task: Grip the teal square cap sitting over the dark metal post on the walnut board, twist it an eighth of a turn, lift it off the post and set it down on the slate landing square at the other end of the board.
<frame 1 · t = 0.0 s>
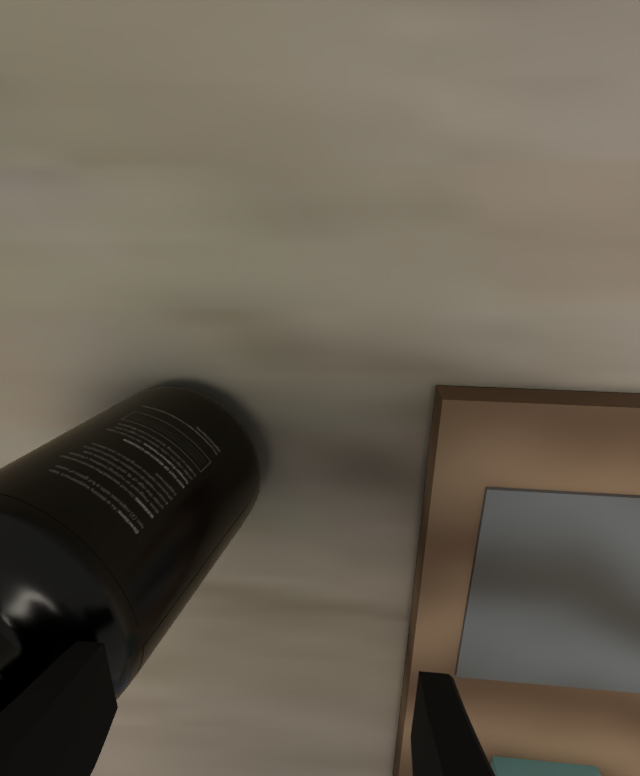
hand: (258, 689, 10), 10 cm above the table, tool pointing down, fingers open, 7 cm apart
board: (548, 675, 22), on the table
supplement bottle: (193, 456, 19), on the table, touching gripper
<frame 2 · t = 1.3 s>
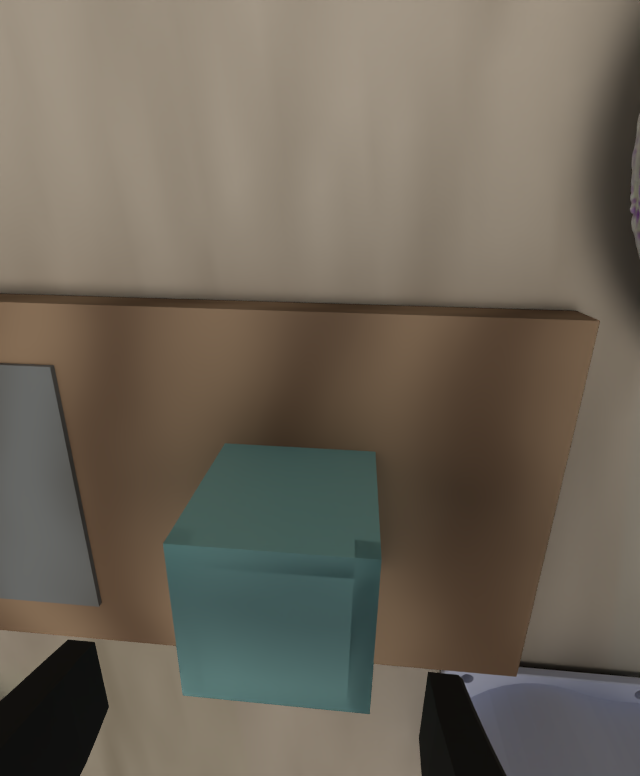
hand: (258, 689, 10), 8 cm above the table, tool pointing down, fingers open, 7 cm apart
cap: (299, 511, 16), point 1 cm above the table, touching board
board: (139, 477, 18), on the table
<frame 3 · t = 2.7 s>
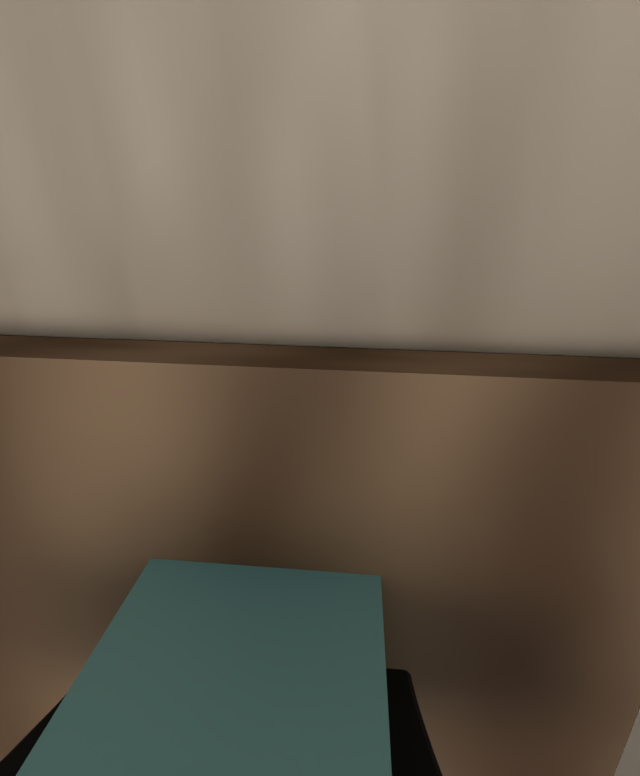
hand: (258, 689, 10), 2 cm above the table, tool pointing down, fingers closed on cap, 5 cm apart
cap: (266, 651, 11), point 1 cm above the table, touching board, gripper
board: (44, 582, 12), on the table
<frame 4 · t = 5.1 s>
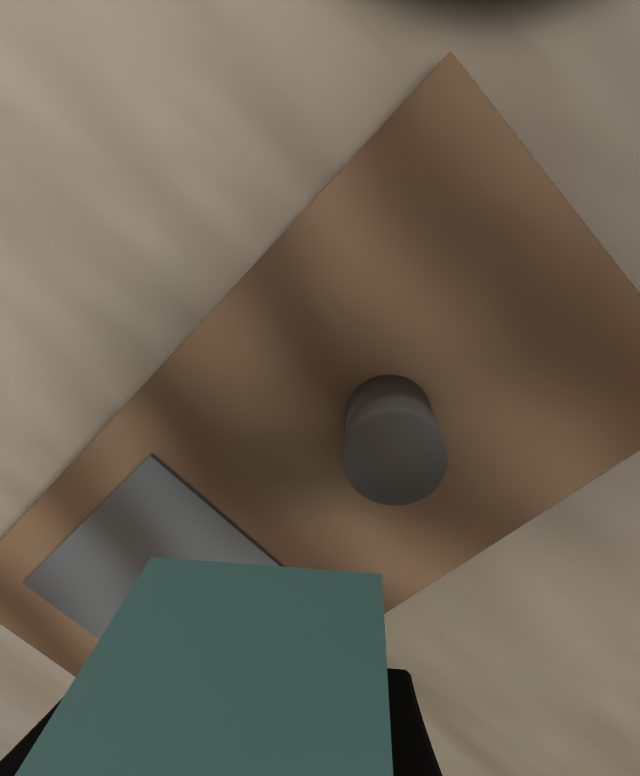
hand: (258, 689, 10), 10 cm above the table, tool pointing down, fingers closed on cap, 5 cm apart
cap: (267, 650, 10), point 9 cm above the table, touching gripper
board: (275, 491, 20), on the table
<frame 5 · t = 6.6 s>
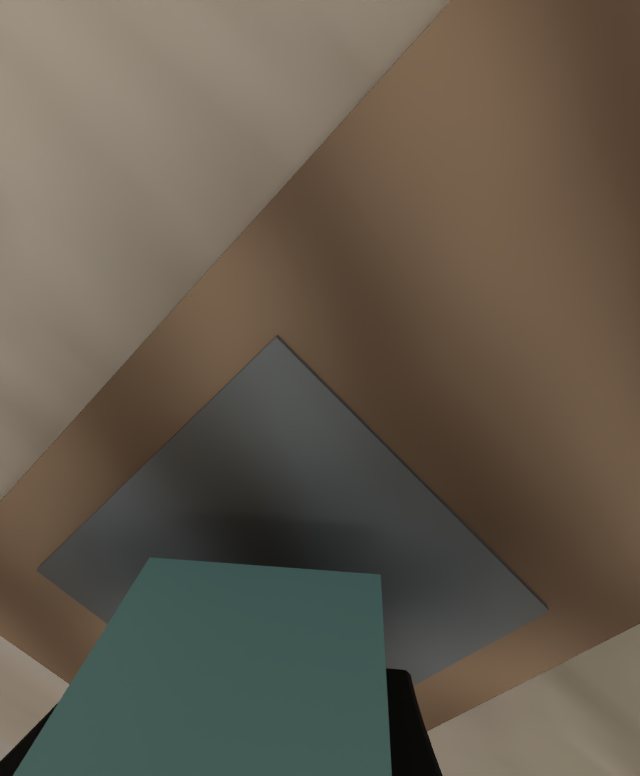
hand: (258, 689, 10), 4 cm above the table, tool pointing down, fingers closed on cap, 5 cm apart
cap: (266, 651, 10), point 4 cm above the table, touching gripper
board: (461, 418, 12), on the table
when the fingers open (3 cm above the table, at t = 7.8 s): cap stays where it is, resting on board.
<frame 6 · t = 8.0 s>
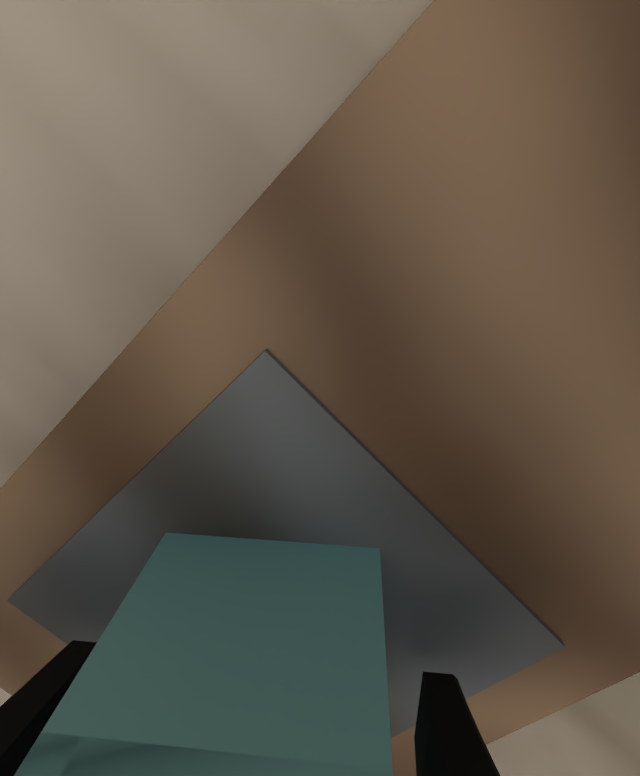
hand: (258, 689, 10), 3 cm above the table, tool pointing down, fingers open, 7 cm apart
cap: (272, 621, 11), point 2 cm above the table, touching board
board: (469, 437, 11), on the table
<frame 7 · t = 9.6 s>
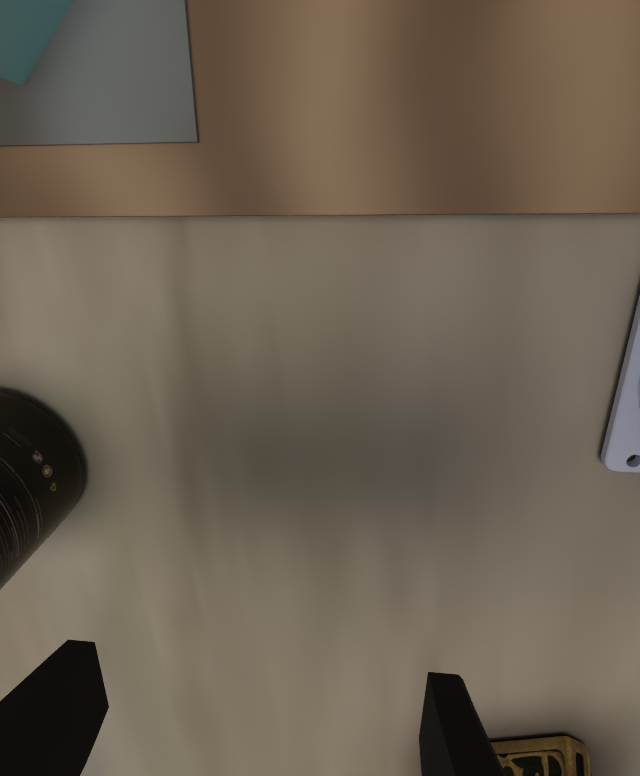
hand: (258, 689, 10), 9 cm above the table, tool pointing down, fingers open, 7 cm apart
supplement bottle: (17, 455, 20), on the table
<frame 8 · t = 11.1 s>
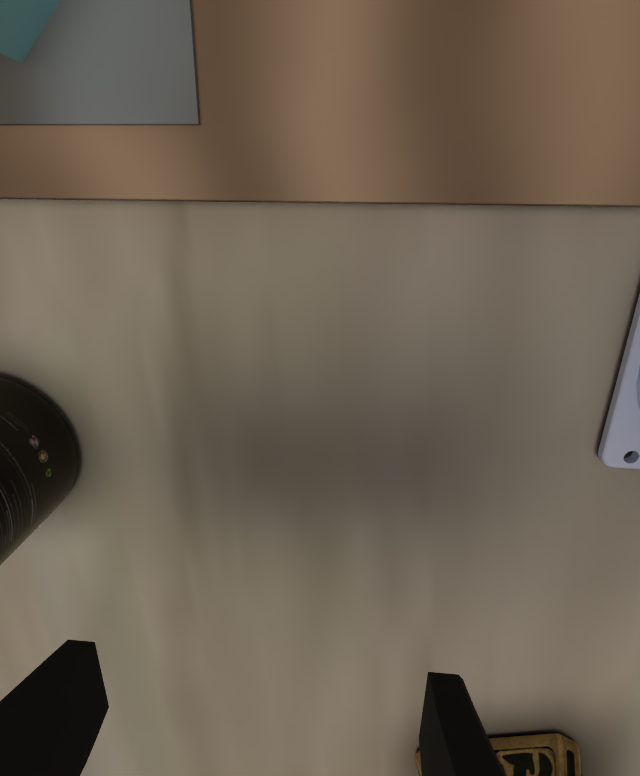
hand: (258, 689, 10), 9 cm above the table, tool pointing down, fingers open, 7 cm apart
supplement bottle: (10, 442, 19), on the table
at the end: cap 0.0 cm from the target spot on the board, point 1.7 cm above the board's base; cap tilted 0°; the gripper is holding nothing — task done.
